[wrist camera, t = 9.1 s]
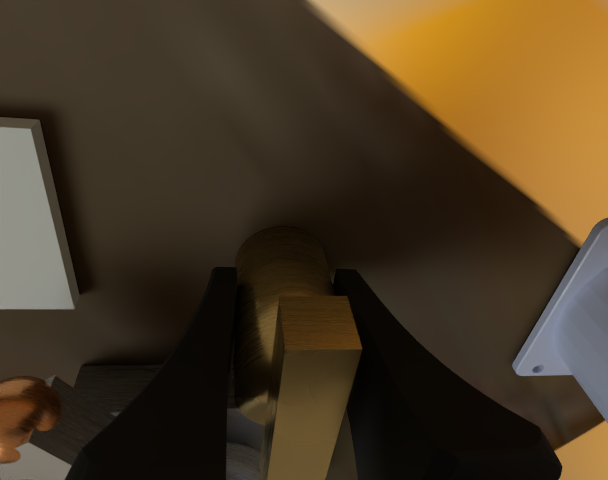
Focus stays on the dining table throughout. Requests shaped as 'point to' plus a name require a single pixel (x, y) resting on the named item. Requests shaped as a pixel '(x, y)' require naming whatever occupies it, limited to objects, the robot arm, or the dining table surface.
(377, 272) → the dining table surface
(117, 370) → the chuck base
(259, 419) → the gold cylinder with bar
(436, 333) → the dining table surface
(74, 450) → the silver lever handle
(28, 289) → the mat
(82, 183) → the dining table surface
